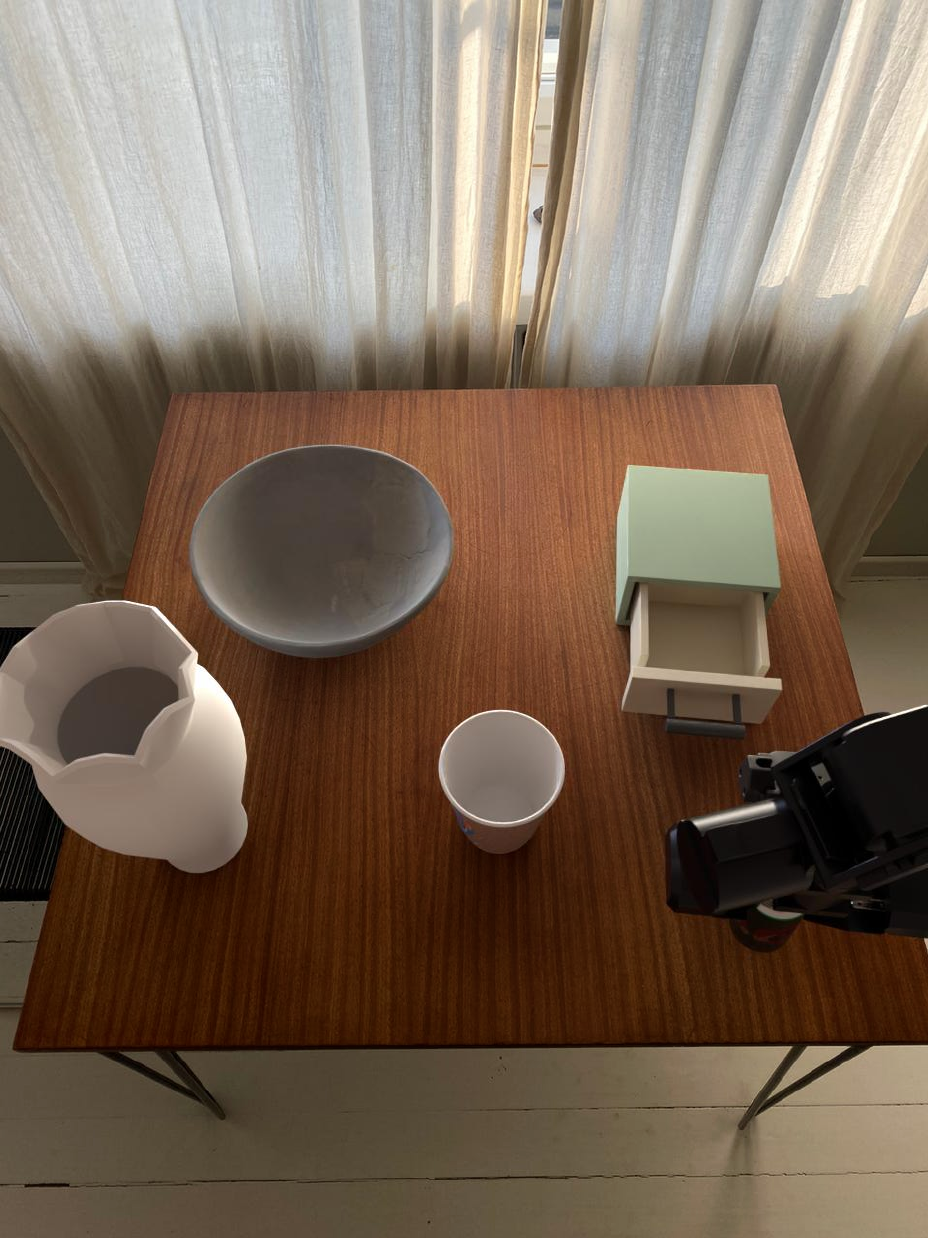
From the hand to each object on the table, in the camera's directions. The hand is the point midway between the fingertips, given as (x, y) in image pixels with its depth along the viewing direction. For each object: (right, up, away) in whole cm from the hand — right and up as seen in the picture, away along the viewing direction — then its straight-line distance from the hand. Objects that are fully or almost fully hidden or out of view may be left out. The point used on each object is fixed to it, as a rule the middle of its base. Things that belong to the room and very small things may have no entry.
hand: (766, 909), depth 69 cm
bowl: (-38, +26, +26) cm, 53 cm away
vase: (-48, +3, +12) cm, 50 cm away
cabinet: (0, +28, +27) cm, 39 cm away
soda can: (+1, -3, +4) cm, 5 cm away
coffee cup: (-21, +4, +12) cm, 24 cm away
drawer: (-1, +17, +19) cm, 25 cm away
